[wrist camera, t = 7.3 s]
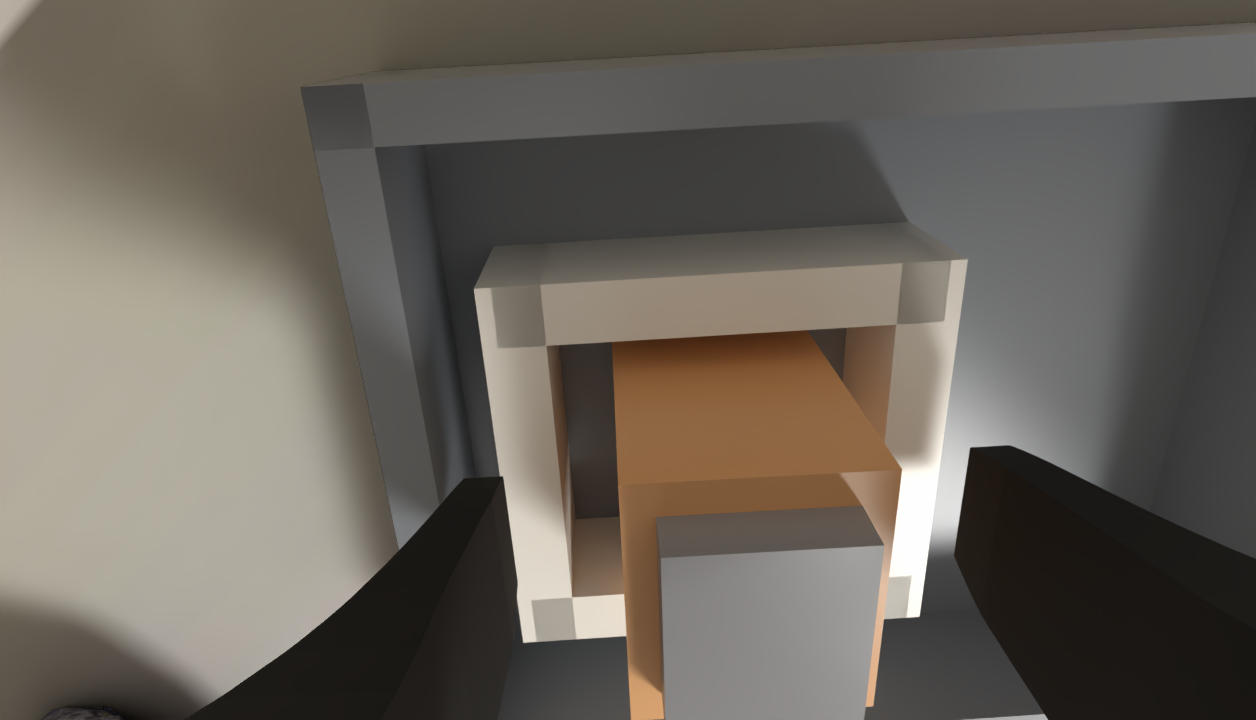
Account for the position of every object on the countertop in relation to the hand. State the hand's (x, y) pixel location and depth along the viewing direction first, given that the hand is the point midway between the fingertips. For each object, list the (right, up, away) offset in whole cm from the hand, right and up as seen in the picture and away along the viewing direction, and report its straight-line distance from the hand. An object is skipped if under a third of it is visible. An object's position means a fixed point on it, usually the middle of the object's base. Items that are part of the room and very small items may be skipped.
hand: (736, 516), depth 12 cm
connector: (0, +1, +3) cm, 4 cm away
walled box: (+2, +2, +4) cm, 5 cm away
